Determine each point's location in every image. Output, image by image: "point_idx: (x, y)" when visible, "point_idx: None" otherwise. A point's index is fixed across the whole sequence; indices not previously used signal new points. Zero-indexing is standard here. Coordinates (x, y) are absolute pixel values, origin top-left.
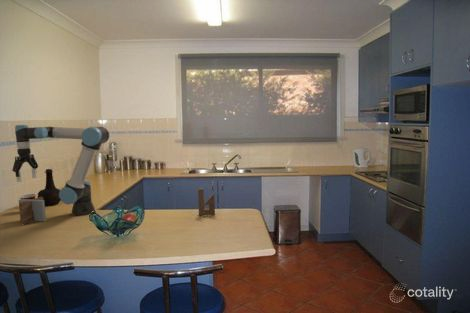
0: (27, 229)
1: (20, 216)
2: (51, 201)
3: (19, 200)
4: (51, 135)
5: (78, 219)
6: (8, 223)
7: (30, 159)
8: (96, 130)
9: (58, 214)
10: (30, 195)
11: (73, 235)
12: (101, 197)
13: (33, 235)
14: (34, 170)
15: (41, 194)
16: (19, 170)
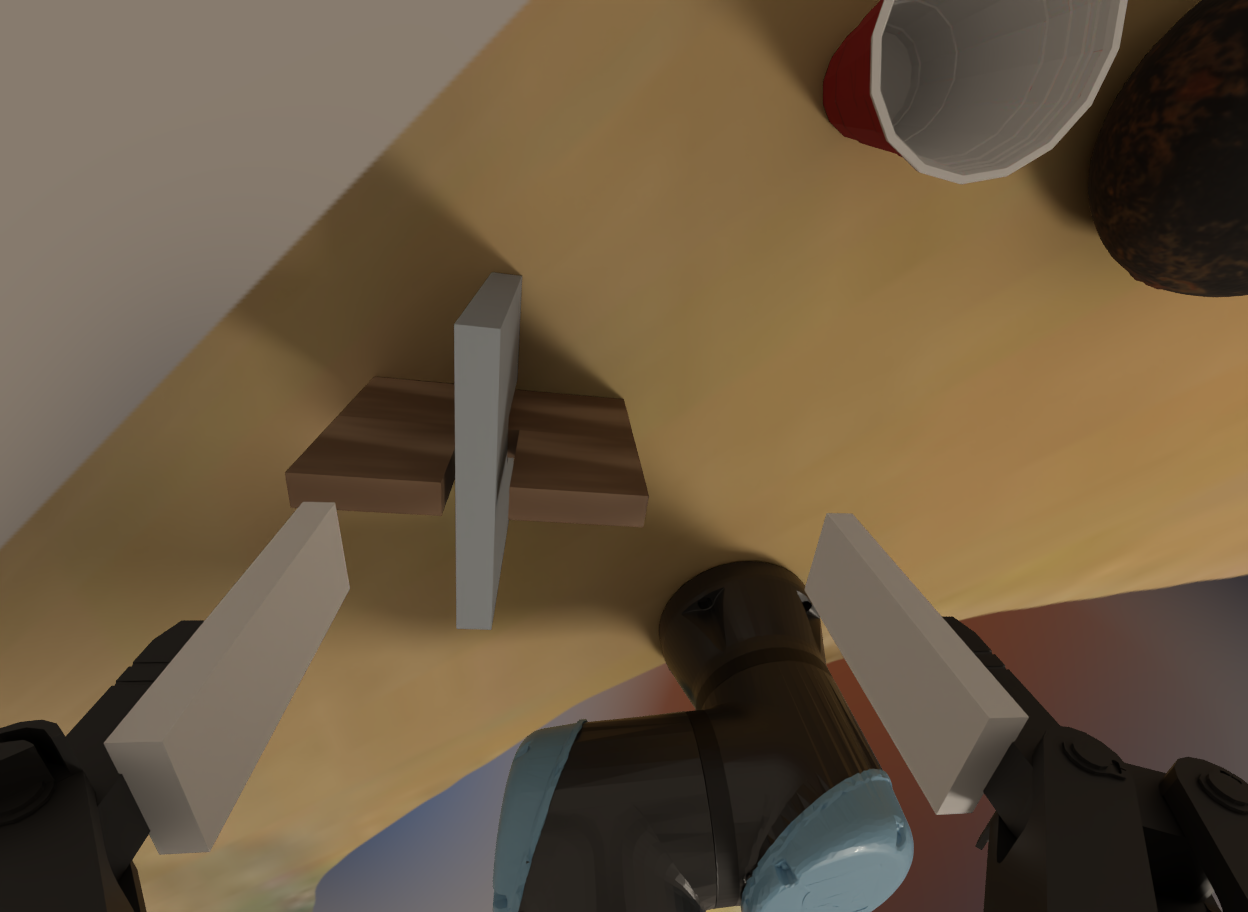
0: (284, 511)
1: (346, 408)
2: (1096, 223)
3: (454, 336)
4: None
5: (569, 673)
6: (385, 209)
7: None
8: None
9: (702, 481)
10: (1092, 14)
11: (279, 792)
12: (1239, 505)
13: None
14: (910, 741)
15: (1228, 83)
16: (140, 909)
